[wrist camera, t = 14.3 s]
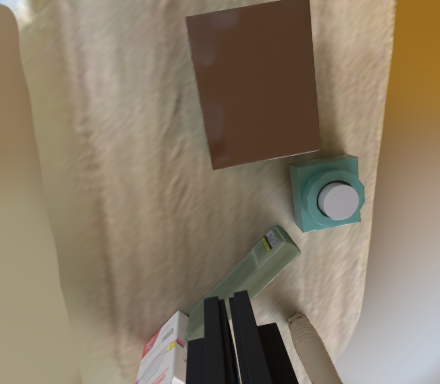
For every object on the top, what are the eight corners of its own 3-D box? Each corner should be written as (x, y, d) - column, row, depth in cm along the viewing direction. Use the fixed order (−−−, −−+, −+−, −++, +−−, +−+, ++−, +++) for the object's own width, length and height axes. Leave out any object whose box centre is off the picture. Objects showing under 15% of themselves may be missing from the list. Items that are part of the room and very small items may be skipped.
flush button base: (288, 164, 39) (301, 170, 34) (345, 153, 39) (365, 158, 34) (295, 224, 41) (308, 238, 36) (348, 214, 41) (368, 226, 36)
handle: (276, 309, 45) (313, 401, 30) (316, 305, 45) (371, 394, 30) (277, 335, 46) (313, 435, 31) (316, 330, 46) (369, 427, 32)
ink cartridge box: (168, 360, 45) (154, 471, 31) (143, 344, 44) (117, 451, 30) (203, 325, 44) (205, 423, 30) (178, 308, 43) (168, 401, 29)
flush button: (316, 185, 35) (322, 188, 33) (350, 178, 35) (358, 182, 33) (319, 218, 36) (324, 223, 34) (352, 211, 36) (359, 216, 34)
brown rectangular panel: (184, 19, 26) (184, 16, 26) (306, -2, 27) (309, -5, 26) (212, 169, 30) (213, 170, 29) (318, 149, 30) (321, 150, 30)
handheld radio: (290, 235, 41) (178, 345, 45) (274, 221, 41) (162, 333, 44) (305, 255, 35) (173, 382, 38) (287, 239, 34) (154, 369, 38)
